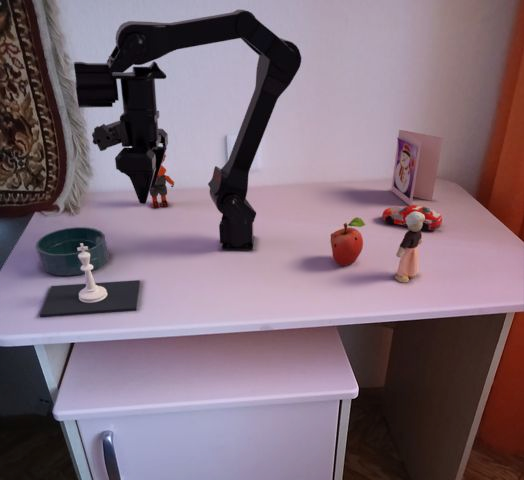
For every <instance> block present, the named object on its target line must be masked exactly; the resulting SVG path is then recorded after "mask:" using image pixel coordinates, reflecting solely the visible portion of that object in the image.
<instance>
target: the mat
mask: <svg viewBox="0 0 524 480" xmlns="http://www.w3.org/2000/svg"><path fill="white" fill-rule="evenodd" d="M95 284H96V285H97V286H101V287H104V288H105V289H106V291H107V296H106V298H104V299H103V300H101V301H98V302H94V303H85V302H82V301H80V299H79V292H80V291H81V290H82V289H84V288H85V287H86V283H77V284H60V285H50V288H49V291H48V293H47V296H46V298H45V301H44V304H43V307H42V308H41V311H40V313H39V316H40V318H45V317H48V318H49V317H60V316H61V317H62V316H75V315H87V314H101V313H102V314H103V313H117V312H131V311H137V307H138V300H139V293H140V285H141V280H140V279H136V280H123V281H121V280H120V281H109V282H108V281H107V282H95Z"/></svg>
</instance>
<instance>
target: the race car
mask: <svg viewBox="0 0 524 480" xmlns="http://www.w3.org/2000/svg"><path fill="white" fill-rule="evenodd" d="M414 211H417V212H420V213H422V214H424V216H425V219H424V221H423V225H422V228H421V229H420V231H421V232H427V231H430V230H431V231H433V230H434V231H435V230H438V229H439V228H440V227H441V226H442V224H443V223H442V222H443V218H442V217H443V216H442V213H440V212H438V211H435V210H434V209H431V208H429V207H426V206H422V205H416V204H412V205H411V206H410V205H408V206H403V207H399V206H397V207H396V206H395V207H394V206H393V207H389V208H386V209H384V210H383V212H382V216H381V218H382V220H383V221H384V222H385V223H386V224H387V225H400V226H404V227H408V225H407V224H406V220H405V218H406V217H407V215H409V214H410V213H412V212H414Z"/></svg>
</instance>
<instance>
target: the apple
mask: <svg viewBox="0 0 524 480" xmlns="http://www.w3.org/2000/svg"><path fill="white" fill-rule="evenodd" d="M364 226H366V223H365V222H364V220H363V219H362V218H360V217H358V216H357V217H354V218H353V219H351V221H350V222H349V223H347V222H344V223H343V228H340V229H337V230H336V231H334V232H332V233H330V246H331V252H332V258H333V260H334V261H335V262H336V263H337V264H338V265H340V266H342V267H343V266H348V265H351V264H354V263H356V261H357V259H358V258H359V256H360V255H361V253H362V250H363V248H364V238H363V236H362V235H363V234H362V233H361V232H360V231H359V230H358V229H357V228H361V227H364ZM355 227H357V228H355Z"/></svg>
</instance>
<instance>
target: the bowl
mask: <svg viewBox="0 0 524 480" xmlns="http://www.w3.org/2000/svg"><path fill="white" fill-rule="evenodd" d="M81 243H83V246H84V247H85V246H88V250H85V252H88V253H90V262H89V264H91V265H93V269H92V270H91V272H93V271H95V270H97V269H100V268H101V267H102V266H103V265H105V264H106V263H107V261H108V260H109V258H110V256H109V255H110V254H109V250H108V244H107V239H106V234H105V233H104V232H103V231H101V230H99V229H97V228H93V227H87V226H85V227H84V226H83V227H81V226H76V227H67V228H62V229H58V230H54V231H52V232H48V233H47V234H45V235H42V237H40V238H39V239H38V240H37V241H36V242H35V250H36V254H37V257H38V260H39V263H40V267H41V268H42V270H43V271H45V272H46V273H48V274H50V275H57V276H74V275H76V276H77V275H82V274H85V271H82V270H81V266H82V265H83V264H82V262H81V260H80V259H79V257H78V255H79V254H80V253H82V251H78V250H77V248H78V247H81V246H80V244H81Z"/></svg>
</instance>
